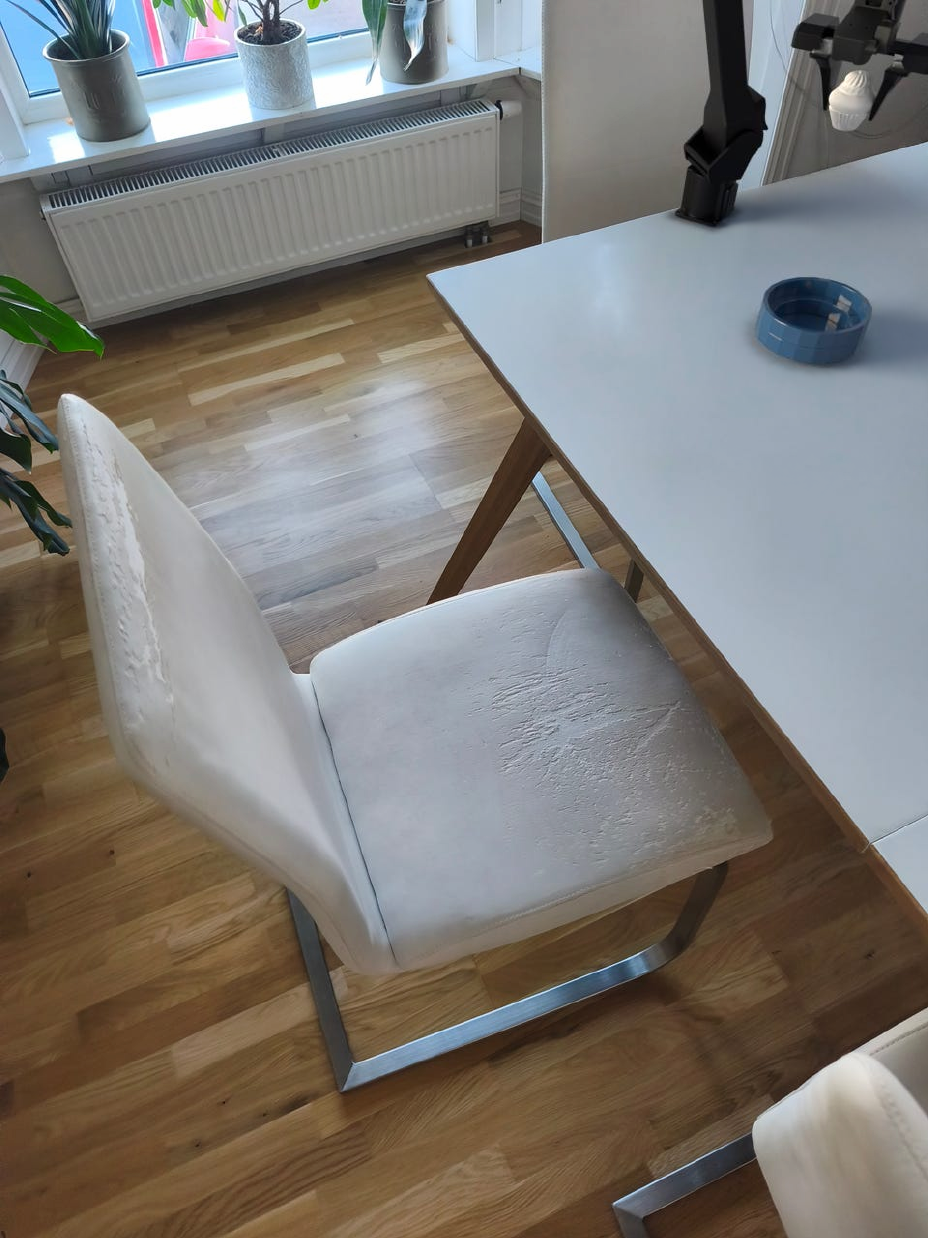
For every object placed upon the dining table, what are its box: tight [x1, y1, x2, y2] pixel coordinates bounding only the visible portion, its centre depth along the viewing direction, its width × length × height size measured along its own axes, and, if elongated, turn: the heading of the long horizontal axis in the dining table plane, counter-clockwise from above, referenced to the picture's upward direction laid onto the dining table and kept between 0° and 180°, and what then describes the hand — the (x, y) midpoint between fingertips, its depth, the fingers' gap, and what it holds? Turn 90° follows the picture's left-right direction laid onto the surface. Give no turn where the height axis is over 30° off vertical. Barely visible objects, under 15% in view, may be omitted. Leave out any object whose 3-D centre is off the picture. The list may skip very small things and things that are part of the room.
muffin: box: [828, 69, 877, 132], centre depth 116 cm, size 6×6×7 cm
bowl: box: [754, 276, 873, 364], centre depth 101 cm, size 12×12×4 cm
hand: (847, 114), depth 117 cm, fingers closed on muffin, 6 cm apart
